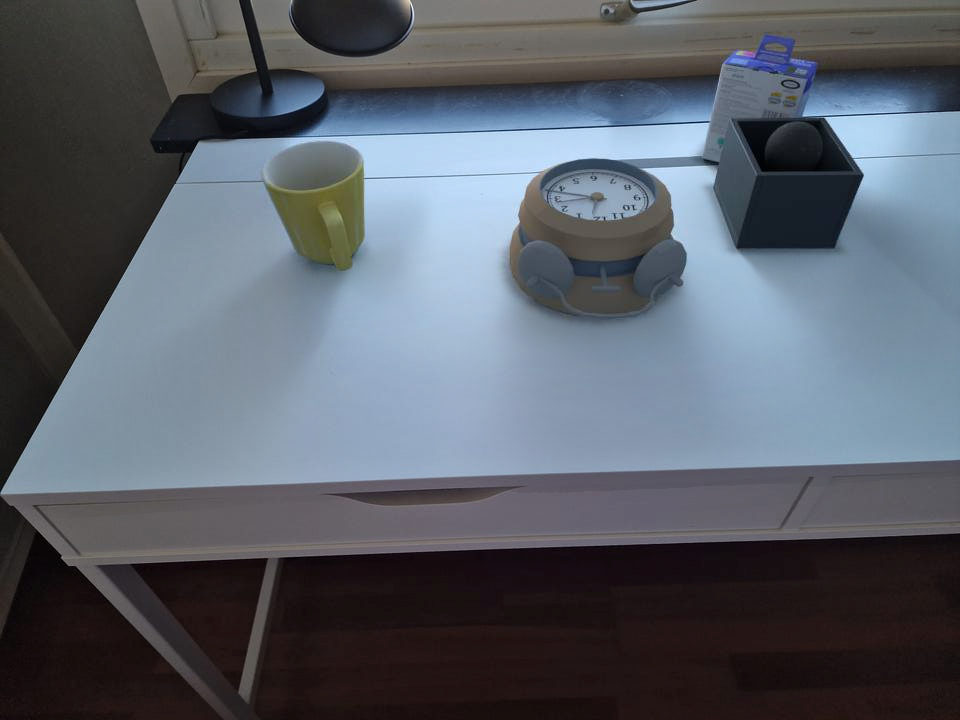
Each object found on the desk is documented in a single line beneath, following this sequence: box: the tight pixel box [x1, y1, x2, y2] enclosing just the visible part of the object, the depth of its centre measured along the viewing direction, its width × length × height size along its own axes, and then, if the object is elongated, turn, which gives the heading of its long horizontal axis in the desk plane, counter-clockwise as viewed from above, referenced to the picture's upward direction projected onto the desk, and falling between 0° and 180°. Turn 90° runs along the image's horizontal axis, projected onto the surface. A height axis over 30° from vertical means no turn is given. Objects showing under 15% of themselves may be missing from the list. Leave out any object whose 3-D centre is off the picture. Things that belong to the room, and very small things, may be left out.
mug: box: [260, 140, 366, 272], centre depth 71 cm, size 14×10×10 cm
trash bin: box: [712, 116, 865, 249], centre depth 75 cm, size 10×12×9 cm
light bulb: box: [765, 122, 823, 172], centre depth 75 cm, size 6×6×10 cm
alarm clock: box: [509, 157, 688, 320], centre depth 68 cm, size 17×9×23 cm
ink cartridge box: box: [701, 33, 819, 163], centre depth 82 cm, size 10×6×14 cm, turn 59°
